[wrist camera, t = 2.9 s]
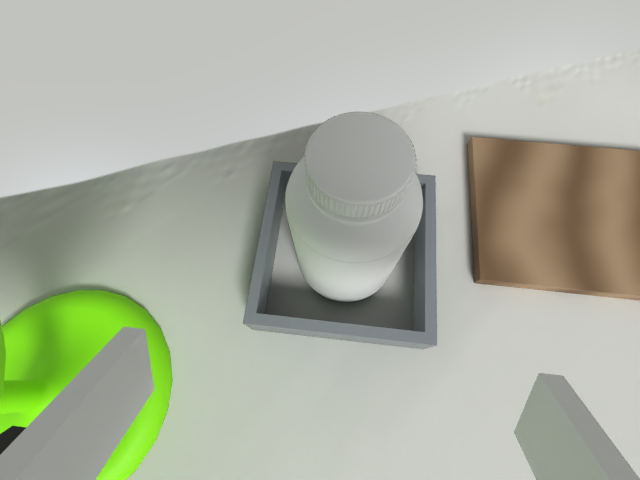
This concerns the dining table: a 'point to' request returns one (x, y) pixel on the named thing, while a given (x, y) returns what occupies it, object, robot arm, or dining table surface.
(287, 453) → the dining table surface
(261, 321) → the bin
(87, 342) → the wineglass
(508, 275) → the board
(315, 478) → the dining table surface
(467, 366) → the dining table surface
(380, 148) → the pill bottle
